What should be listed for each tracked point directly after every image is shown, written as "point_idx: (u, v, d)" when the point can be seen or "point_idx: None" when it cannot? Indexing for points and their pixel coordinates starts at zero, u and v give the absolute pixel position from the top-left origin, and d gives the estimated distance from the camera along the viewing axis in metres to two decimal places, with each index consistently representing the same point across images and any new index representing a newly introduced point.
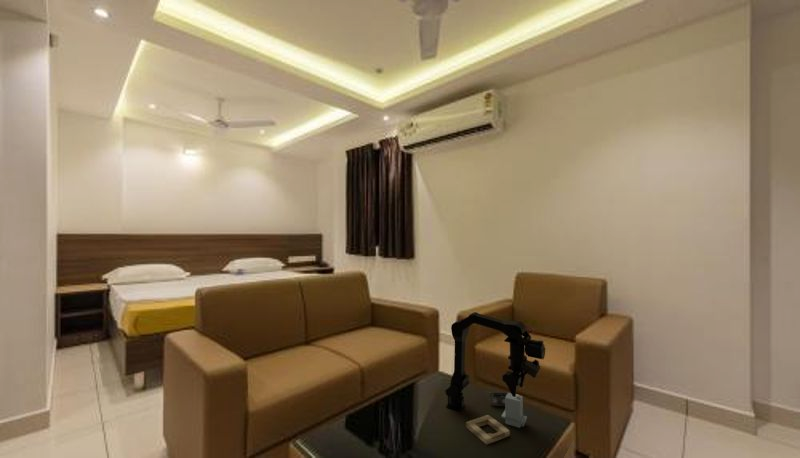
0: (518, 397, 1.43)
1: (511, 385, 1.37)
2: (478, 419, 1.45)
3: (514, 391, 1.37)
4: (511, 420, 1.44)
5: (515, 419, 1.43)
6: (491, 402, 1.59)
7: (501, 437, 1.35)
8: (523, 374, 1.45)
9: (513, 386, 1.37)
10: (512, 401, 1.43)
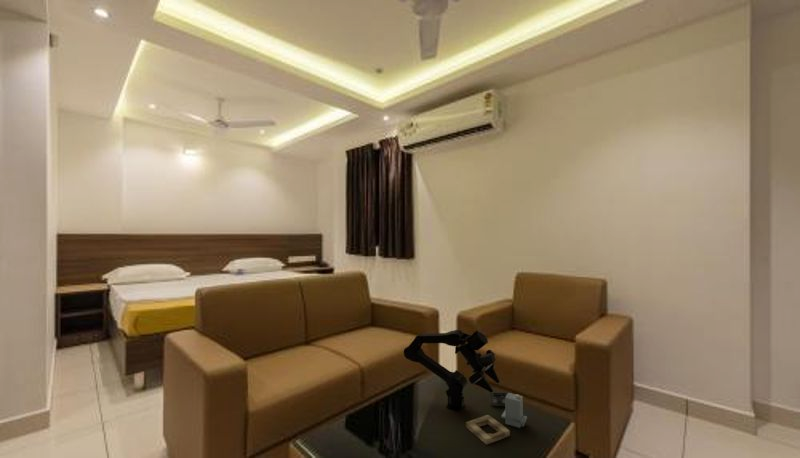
0: (518, 397, 1.43)
1: (482, 383, 1.46)
2: (478, 419, 1.45)
3: (488, 386, 1.45)
4: (511, 420, 1.44)
5: (515, 419, 1.43)
6: (491, 402, 1.59)
7: (501, 437, 1.35)
8: (491, 370, 1.54)
9: (484, 383, 1.45)
10: (512, 401, 1.43)
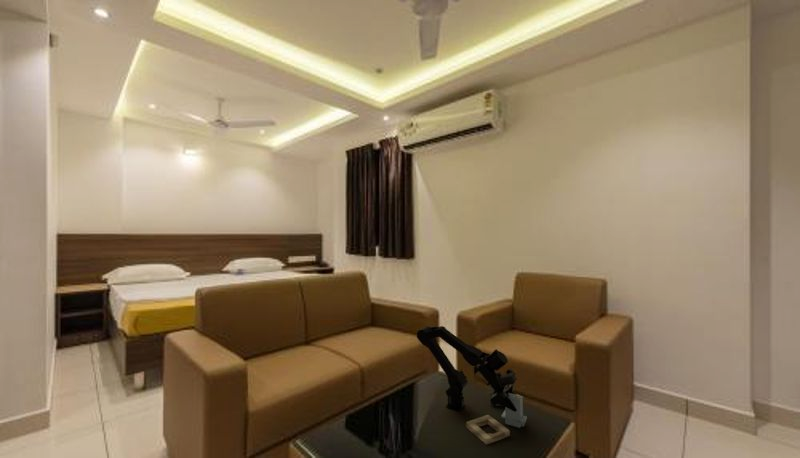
0: (518, 397, 1.43)
1: (505, 402, 1.43)
2: (478, 419, 1.45)
3: (511, 406, 1.42)
4: (511, 420, 1.44)
5: (515, 419, 1.43)
6: None
7: (501, 437, 1.35)
8: (511, 392, 1.48)
9: (507, 402, 1.43)
10: (512, 401, 1.43)
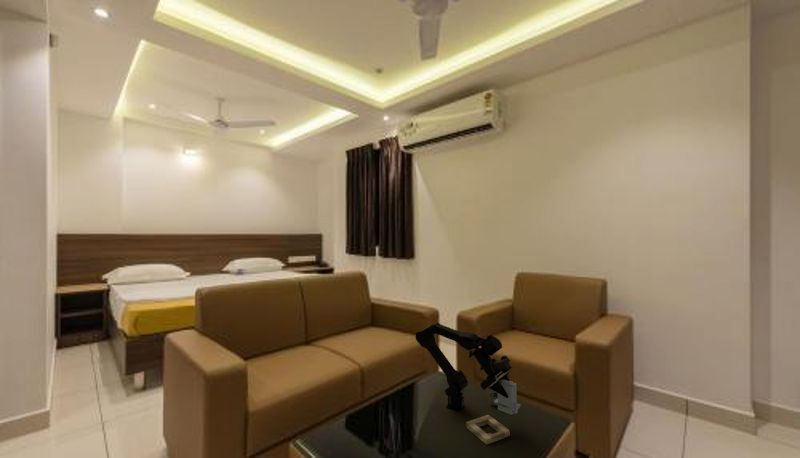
0: (511, 384, 1.40)
1: (497, 388, 1.41)
2: (478, 419, 1.45)
3: (503, 391, 1.40)
4: (503, 406, 1.41)
5: (507, 406, 1.40)
6: (491, 402, 1.59)
7: (501, 437, 1.35)
8: (505, 379, 1.46)
9: (499, 387, 1.41)
10: (504, 387, 1.41)
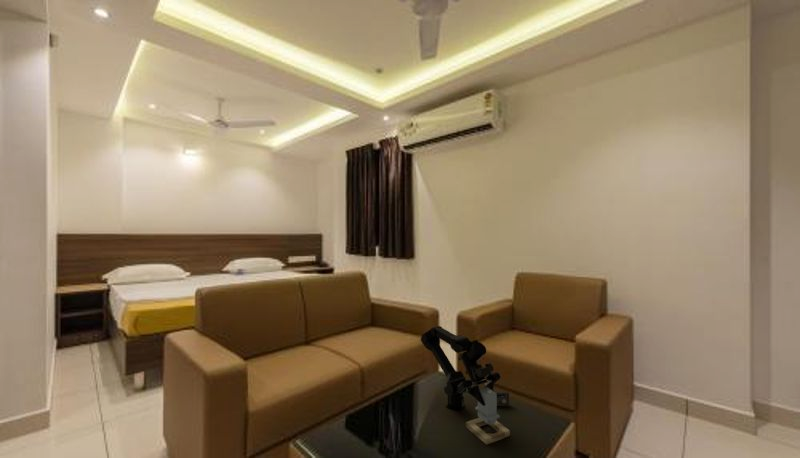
0: (488, 392, 1.37)
1: (475, 394, 1.40)
2: (478, 419, 1.45)
3: (479, 398, 1.38)
4: (481, 413, 1.39)
5: (484, 414, 1.38)
6: None
7: (501, 437, 1.35)
8: (489, 387, 1.42)
9: (476, 394, 1.39)
10: (482, 394, 1.38)
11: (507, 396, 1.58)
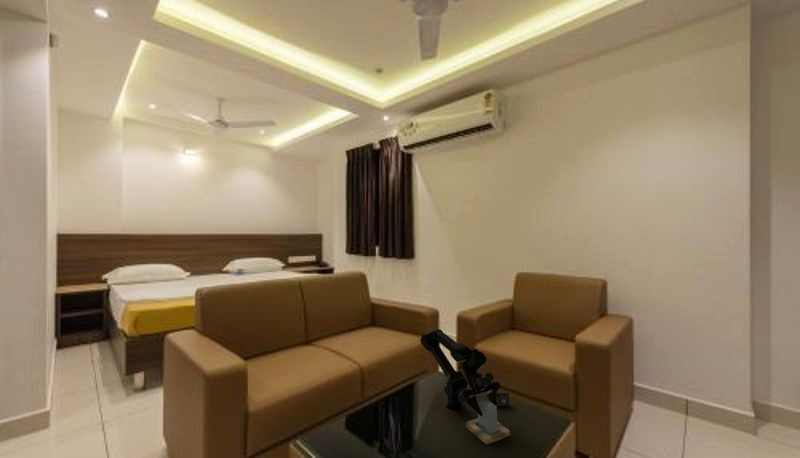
0: (489, 405, 1.37)
1: (473, 404, 1.40)
2: None
3: (477, 409, 1.38)
4: (481, 426, 1.40)
5: (484, 427, 1.38)
6: None
7: (501, 437, 1.35)
8: (492, 396, 1.43)
9: (474, 404, 1.39)
10: (482, 407, 1.39)
11: (507, 396, 1.58)
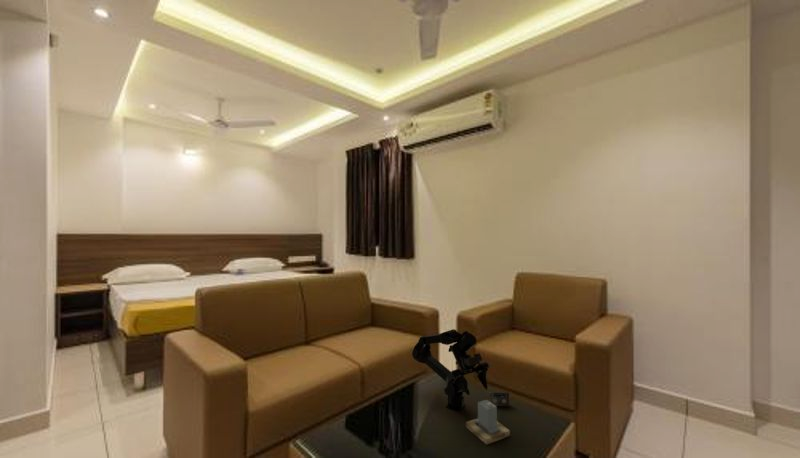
0: (489, 405, 1.37)
1: (460, 384, 1.45)
2: None
3: (464, 388, 1.43)
4: (481, 426, 1.40)
5: (484, 427, 1.38)
6: (491, 402, 1.59)
7: (501, 437, 1.35)
8: (482, 375, 1.49)
9: (461, 383, 1.45)
10: (482, 407, 1.39)
11: (507, 396, 1.58)
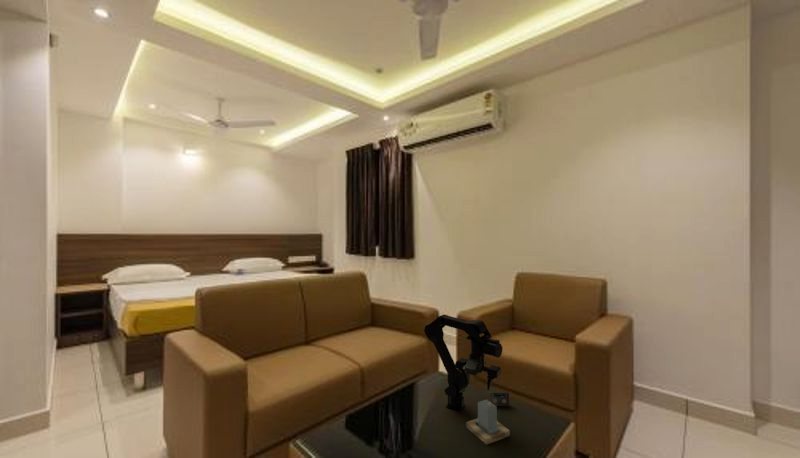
0: (489, 405, 1.37)
1: None
2: None
3: None
4: (481, 426, 1.40)
5: (484, 427, 1.38)
6: (491, 402, 1.59)
7: (501, 437, 1.35)
8: None
9: None
10: (482, 407, 1.39)
11: (507, 396, 1.58)
